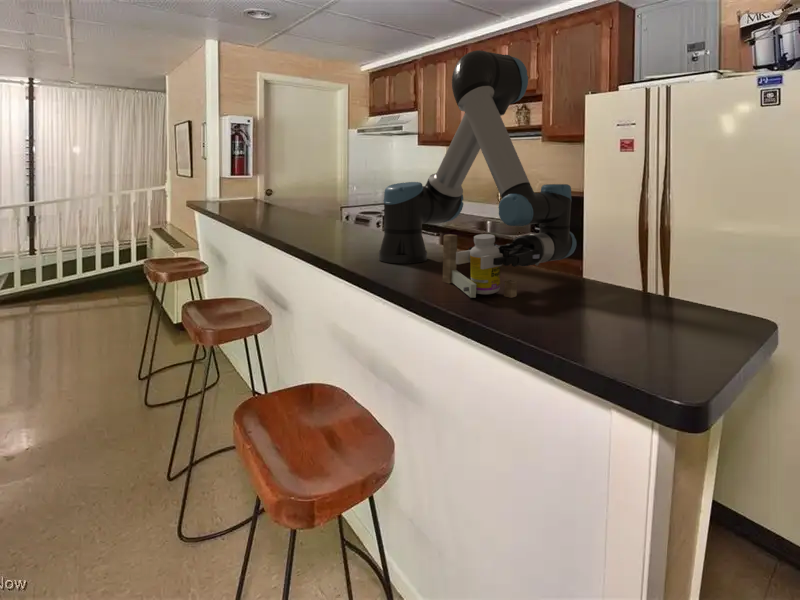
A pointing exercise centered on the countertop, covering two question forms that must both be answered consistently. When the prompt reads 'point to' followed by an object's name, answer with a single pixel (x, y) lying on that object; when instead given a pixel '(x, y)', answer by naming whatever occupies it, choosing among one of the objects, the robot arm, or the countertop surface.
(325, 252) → the countertop surface
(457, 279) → the bar
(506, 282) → the wooden post frame
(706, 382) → the countertop surface
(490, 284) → the supplement bottle
